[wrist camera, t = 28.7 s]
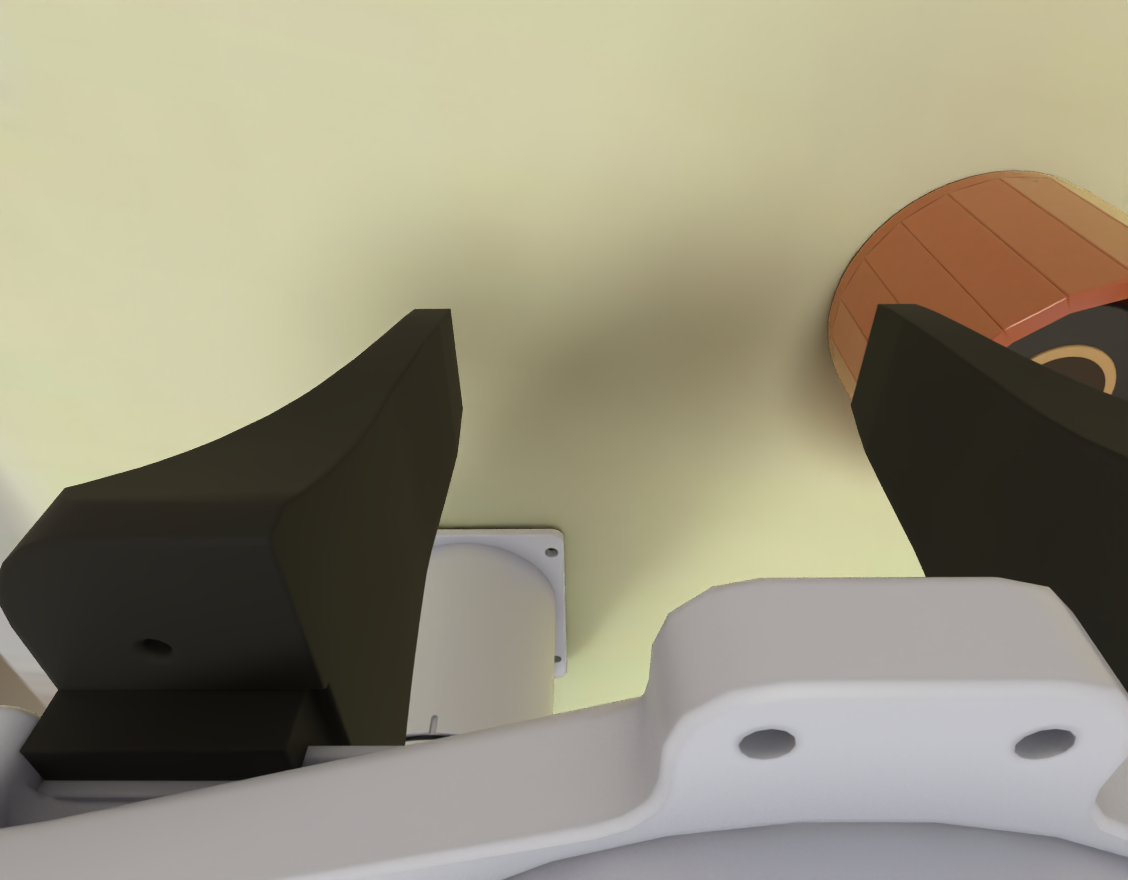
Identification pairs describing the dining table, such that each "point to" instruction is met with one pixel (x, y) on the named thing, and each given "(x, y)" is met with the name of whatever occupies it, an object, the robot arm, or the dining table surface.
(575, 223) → the dining table surface
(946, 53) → the dining table surface
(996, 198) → the pen cup
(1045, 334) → the tape roll
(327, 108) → the dining table surface
